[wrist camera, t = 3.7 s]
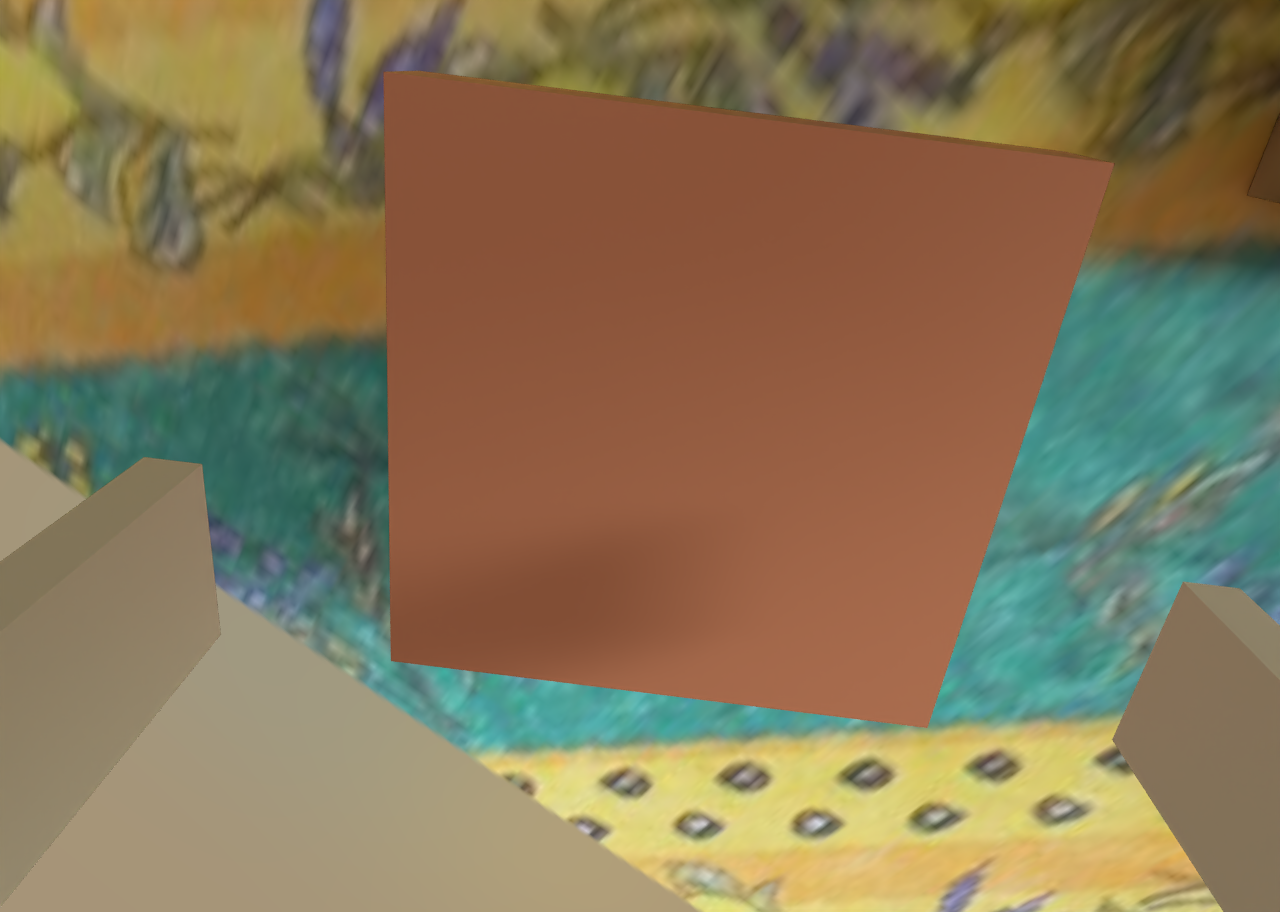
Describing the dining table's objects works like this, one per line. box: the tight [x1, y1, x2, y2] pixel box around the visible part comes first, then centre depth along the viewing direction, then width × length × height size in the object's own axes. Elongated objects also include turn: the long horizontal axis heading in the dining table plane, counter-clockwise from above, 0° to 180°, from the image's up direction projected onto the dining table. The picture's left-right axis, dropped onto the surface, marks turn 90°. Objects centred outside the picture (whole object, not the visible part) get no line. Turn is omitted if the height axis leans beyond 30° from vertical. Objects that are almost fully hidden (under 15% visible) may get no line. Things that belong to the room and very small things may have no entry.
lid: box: [384, 71, 1115, 728], centre depth 18 cm, size 12×12×3 cm
